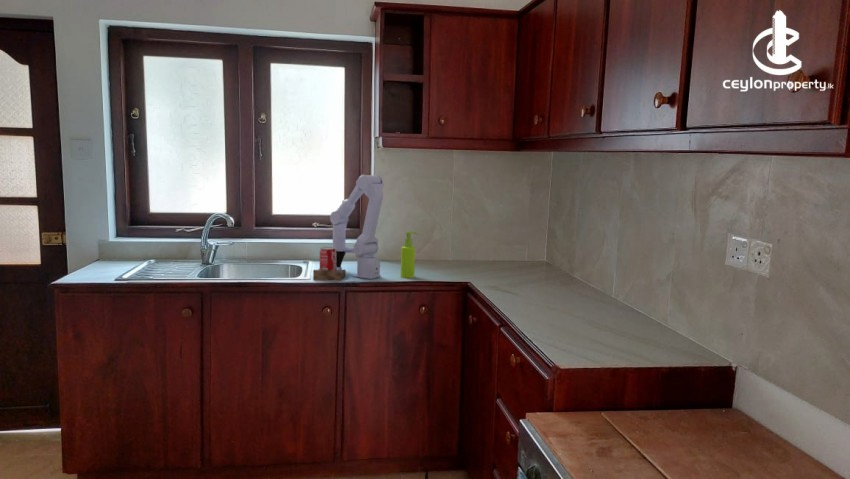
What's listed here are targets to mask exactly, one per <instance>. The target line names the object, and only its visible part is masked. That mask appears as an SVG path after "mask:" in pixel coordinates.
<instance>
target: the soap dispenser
mask: <svg viewBox="0 0 850 479" xmlns="http://www.w3.org/2000/svg"><path fill="white" fill-rule="evenodd" d="M418 233H419V232H416V231H412V230H411V231H405V232H404V234H406V238H404V245H403V246H401V248H400V249H401V250H400V251H401V254H400V260H401V261H400V277H401V278H403V279H413V278H415V266H416V265H415V263H416V262H415V260H416V256H415V255H416V247H415V246H413V239H412V238H411V234H414V235H415V234H416V235H418Z"/></svg>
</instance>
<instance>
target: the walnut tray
mask: <svg viewBox="0 0 850 479" xmlns="http://www.w3.org/2000/svg"><path fill="white" fill-rule="evenodd" d="M312 272H313V273H312V274H313V275H312V278H313V279H312V280H316V281H331V282H332V281H336V282H341V281H342V280H343V279H344V278H345V277H346V269H342V271H330V270H320V268H318V269H313V271H312Z"/></svg>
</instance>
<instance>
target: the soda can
mask: <svg viewBox="0 0 850 479" xmlns="http://www.w3.org/2000/svg"><path fill="white" fill-rule="evenodd" d="M319 269H320V270H330V271H337V254H336V250H335V247H333V246H323V247H320V250H319Z"/></svg>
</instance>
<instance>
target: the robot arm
mask: <svg viewBox="0 0 850 479" xmlns="http://www.w3.org/2000/svg"><path fill="white" fill-rule="evenodd" d="M384 185H385V182H384V180H383V178H382V177H381V175H379V174H373V175H372V174H371V175H369V174H367V175H365V174H361V175H360V176H359V177H358V179H357V180H356V181H355V187H354V189H353V190H352V191H351V193H350V195H349V197H348V198H346V199H344V200H342V201H341V204H340V205H339V207H338V208H336V209H337V210H335V211H332V212H331V213H330V217H329V220H330V223H331V224H332V247H335V250H336V254H337V267H342V264H343V260H344V257H345V256H346V253H349V254H351V253H352V254H355V257H357V258H356V261H357V266H356V267H357V268H356V272H357V273H356V274H353V275H352V276H353V277H355V278H360V279H361V278H362V279H366V280H367V279H369V280H373V279H376V278H379V277H381V276H382V275H381V261H380V259H379V258H378V257H376V254H377V253H378V251H379V245H378V243H379V239H378V238H377V237H376V230H377V226H378V221H379V217H380V213H381V208H382V204H383V199H384V198H383V197H384V193H383V192H384V191H383V189H384ZM363 194H364V195H365V197H367V198H368V203H367V209H366V214H365V218H364V223H363V227H362V233H361V234H360V235H359V236H358V237H356V238H357V239H356V241H355V243H354V245H353V247H346V240H347V239H346V231H347V230H346V229H347V227H348V226H347V225H348V222H349V220H350V218H349V216H350V215H351V214H352V212H353V211H354V209H355V208H356V203H357V201H358V200H359V199H360V198H361V197H362V195H363Z"/></svg>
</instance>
